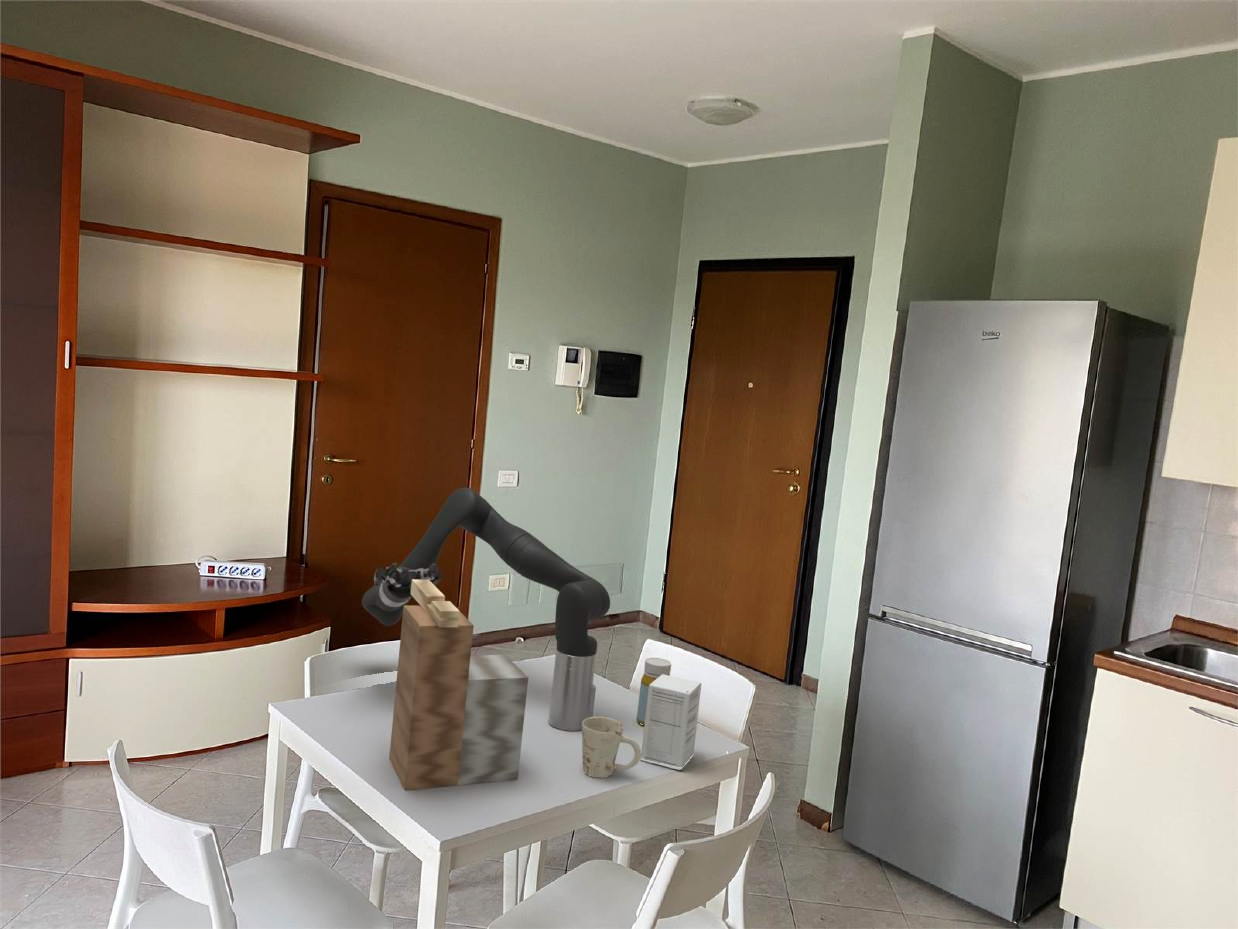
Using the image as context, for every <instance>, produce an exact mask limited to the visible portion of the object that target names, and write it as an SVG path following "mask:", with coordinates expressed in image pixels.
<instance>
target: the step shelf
mask: <svg viewBox="0 0 1238 929" xmlns="http://www.w3.org/2000/svg"><path fill="white" fill-rule="evenodd" d="M401 618H402V619H401V630H400V641H399V642H400V643H399V650H398V651H399V652H398V661H397V662H398V663H397V673H396V683H395V692H394V693H395V694H394V695H395V696H394V704H393V716H392V723H391V724H392V725H391V734H390V736H391V737H390V748H389V757H388V758H389V761H390V763H391V765H392V767H393V769H394V771H395V774H396V776H397V777H398V779H399V781H400V784H401V786H402V787H403V788H402V789H403V790H404V791H410V790H411V791H412V790H421V789H432V788H441V787H443V788H444V787H452V786H453V787H455V786H462V785H472V784H474V785H475V784H484V783H495V782H494V781H497V782H503V781H502V780H508V781H516V780H515V779H519V771H520V760H521V748H522V741H523V740H522V739H523V731H524V723H525V711H526V702H527V696H528V684H529V676H527V674H525V673H524V672H523V670H522V669H521V668H520V667H519V666H517V664H516V663H515V662H514V661H512V659H511V658H510V657H508V656H507V654H489V655H488V654H482V655H481V654H480V655H478V654H477V655H471V654H472V645H473V636H474V635H473V634H474V628H475V627H474V626H475V625H474V624H473V623H472V622H471V621H470V620H469V619H468V618H467V617H466V616H465V615H464V614H463V613H462V612H461V611H460V612H459V622H458V627H438V625H437V624H436V623H435V622H434V621H433V620H432V618H431V617H430V616H429V615H428V614H427V613H426V611H425V610H424V609H423V608H422V607H421V606H420V604H419V605H407V606H404V607H403V614H402V617H401Z"/></svg>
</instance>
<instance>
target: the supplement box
mask: <svg viewBox="0 0 1238 929" xmlns="http://www.w3.org/2000/svg"><path fill="white" fill-rule="evenodd" d="M701 690H702V682H699V681H694V680H690V679H686V678H681V677H677V676H673V675H670V676H668V675H664V674H662V675H661V676H660V677H658V678H657V679H656V680H655V681H653V682H652V683H651V684H650V685H649V689H648V698H647V707H646V715H645V725H644V726H643V736H642V746H641V757H640V759H641V758H643V759H645V760H650V761H654V762H657V763H664V764H668V765H671V766H676V767H683V766H684V765H685V763H686V762H687V761H688V760H689V759H690V757H691V756H692V755H693V753H694V754H695V744H696V736H697V726H698V719H699V718H698V717H699V708H700V700H701Z"/></svg>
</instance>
